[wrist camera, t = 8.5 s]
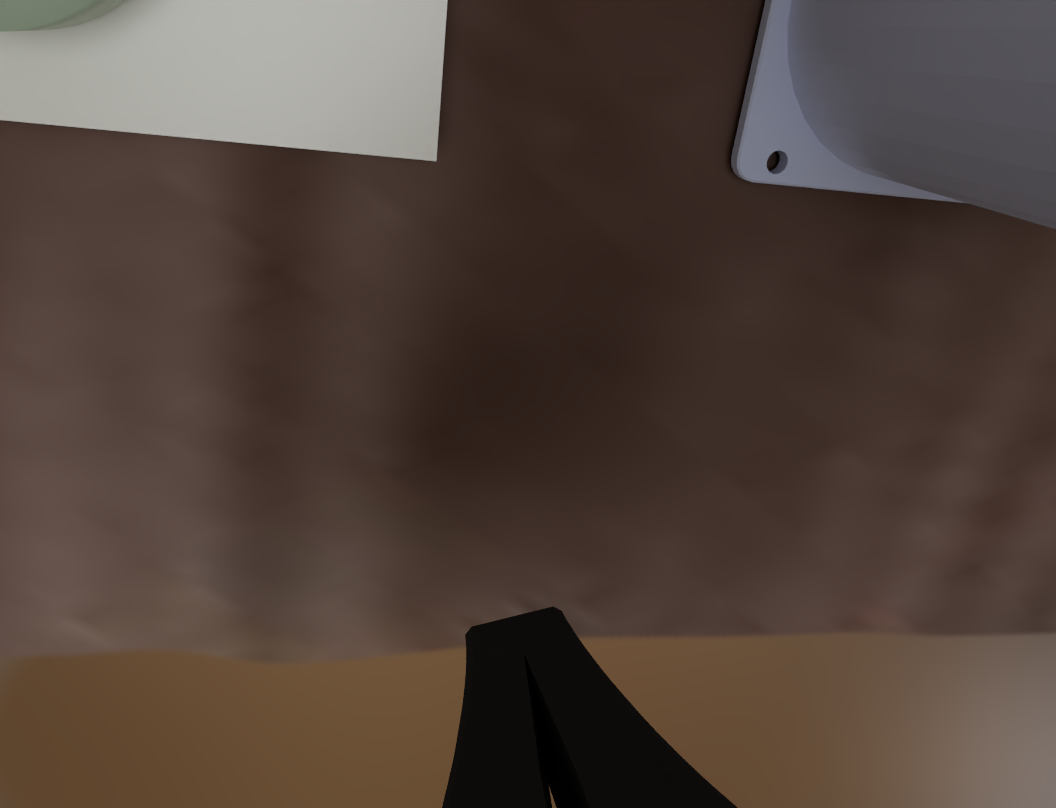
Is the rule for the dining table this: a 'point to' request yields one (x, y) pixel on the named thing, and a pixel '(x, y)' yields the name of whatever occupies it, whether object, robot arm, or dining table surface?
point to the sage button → (50, 13)
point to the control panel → (241, 73)
